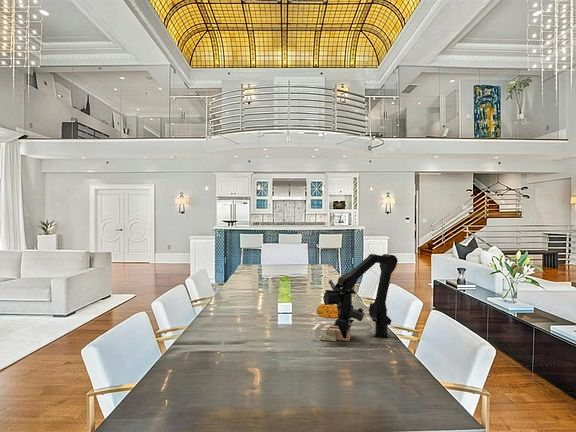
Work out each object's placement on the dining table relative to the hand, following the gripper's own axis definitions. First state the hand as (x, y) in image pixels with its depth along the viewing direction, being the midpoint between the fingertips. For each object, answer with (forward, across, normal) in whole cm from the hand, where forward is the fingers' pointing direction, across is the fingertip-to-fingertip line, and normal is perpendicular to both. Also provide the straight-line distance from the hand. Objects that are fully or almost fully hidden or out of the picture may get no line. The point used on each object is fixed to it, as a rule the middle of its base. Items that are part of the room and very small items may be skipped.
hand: (345, 336), depth 193 cm
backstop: (+1, 0, +14) cm, 14 cm away
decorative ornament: (+2, +51, +18) cm, 54 cm away
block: (+1, 0, +7) cm, 7 cm away
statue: (+2, +20, +7) cm, 21 cm away
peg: (+1, 0, +3) cm, 3 cm away
